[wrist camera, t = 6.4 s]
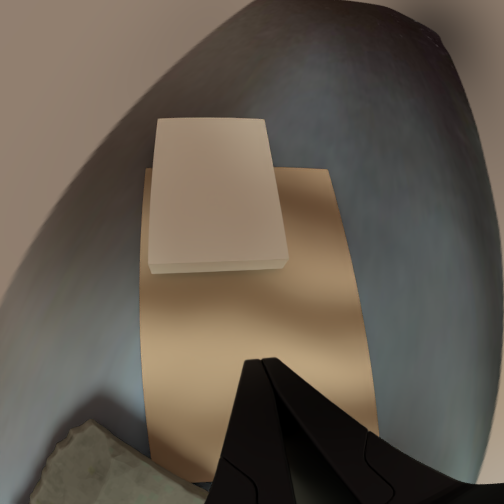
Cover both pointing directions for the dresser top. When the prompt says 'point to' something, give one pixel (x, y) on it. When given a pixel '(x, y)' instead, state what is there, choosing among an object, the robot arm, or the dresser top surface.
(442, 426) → the dresser top surface
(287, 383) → the robot arm
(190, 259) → the glazed tile
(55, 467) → the stone slab
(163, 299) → the tan wooden board
